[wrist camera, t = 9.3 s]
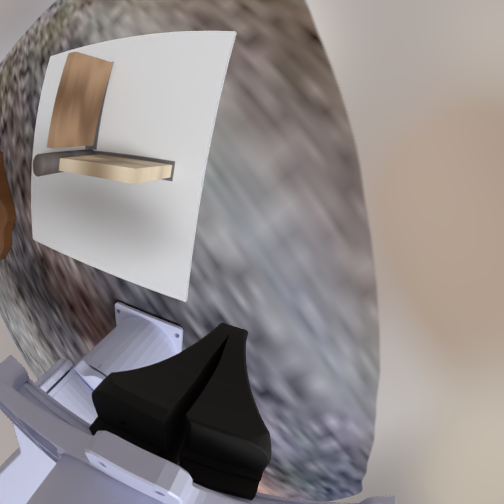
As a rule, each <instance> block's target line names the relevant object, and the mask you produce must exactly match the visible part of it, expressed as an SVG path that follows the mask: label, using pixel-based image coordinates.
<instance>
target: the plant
mask: <svg viewBox="0 0 504 504" xmlns="http://www.w3.org/2000/svg"><path fill="white" fill-rule="evenodd" d="M15 220H16V214H15V209H14V204H13V201H12V198H11V195H10V191H9V186H8V181H7V177H6V174H5V171H4V167H3V153H2V152H0V260H2V259H4V258H5V257H6V256H7V254H8V252H9V250H10V248H11V246H12V230H13V226H14V222H15Z"/></svg>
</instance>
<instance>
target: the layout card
mask: <svg viewBox="0 0 504 504" xmlns="http://www.w3.org/2000/svg"><path fill="white" fill-rule="evenodd" d="M236 34H237V33H236V32H235V31H183V32H168V33H157V34H148V35H140V36H133V37H127V38H121V39H116V40H110V41H106V42H101V43H96V44H92V45H88V46H84V47H80V48H77V49H73V50H70V51H66V52H63V53H60V54H57V55H54V56H51V57H50V60H49V64H48V67H47V71H46V75H45V79H44V83H43V88H42V92H41V97H40V103H39V108H38V114H37V120H36V128H35V136H34V145H33V157H32V175H31V214H32V232H33V240H35V241H37V242H39V243H41V244H44V245H46V246H48V247H50V248H52V249H54V250H56V251H59V252H61V253H63V254H65V255H67V256H70V257H72V258H74V259H76V260H79V261H81V262H83V263H86V264H88V265H90V266H93V267H95V268H97V269H100V270H102V271H105V272H107V273H110V274H112V275H114V276H117V277H119V278H122V279H125V280H127V281H130V282H132V283H135V284H137V285H140V286H143V287H145V288H148V289H151V290H153V291H156V292H159V293H162V294H164V295H167V296H170V297H173V298H176V299H179V300H181V301H184V302H186V301H187V296H188V287H189V278H190V270H191V262H192V254H193V247H194V239H195V232H196V225H197V219H198V212H199V206H200V200H201V194H202V188H203V182H204V176H205V170H206V165H207V160H208V154H209V149H210V144H211V139H212V134H213V129H214V124H215V119H216V115H217V110H218V106H219V101H220V97H221V92H222V88H223V84H224V80H225V76H226V72H227V68H228V64H229V60H230V56H231V52H232V48H233V44H234V41H235V37H236ZM71 52H79V53H83V54H86V55H90V56H93V57H96V58H99V59H103V60H106V61H109V62H112V63H113V66H112V69H111V73H110V76H109V79H108V83H107V86H106V90H105V94H104V98H103V102H102V106H101V110H100V114H99V119H98V124H97V128H96V134H95V139H94V145H93V146H80V147H65V148H48V147H47V142H48V135H49V129H50V123H51V118H52V113H53V108H54V103H55V99H56V95H57V91H58V87H59V83H60V79H61V76H62V72H63V69H64V66H65V62H66V59H67V56H68V53H71ZM85 149H92V150H93V151H94V152H95V155H98V154H101V155H109V156H117V157H124V158H132V159H139V160H145V161H152V162H158V163H164V164H170V165H172V171H171V177H169V178H164V179H159V180H153V181H148V182H143V183H138V184H129V183H124V182H119V181H114V180H109V179H103V178H98V177H92V176H87V175H81V174H75V173H69V172H60V173H55V174H49V175H44V176H39V177H37V176H36V175H35V174H34V172H33V160H34V157H35V156H36V155H37V154H42V153H51V152H60V151H72V150H85Z"/></svg>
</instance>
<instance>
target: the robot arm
mask: <svg viewBox="0 0 504 504" xmlns="http://www.w3.org/2000/svg"><path fill="white" fill-rule="evenodd" d="M119 310H120V311H119ZM115 316H116V327H115V328H114V329H113V330H112V331H111V332H110V333H109V334H108V335H107V336H106V337H105V338H103V339H102V340H101V341H100V342H99V343H98V344H97V345H96V346H95V347H94V348H93V349H92V350H91V351H90V352H89V353H88V354H87V355H86V356H85V357H84V358H83V359H82V360H80V361H79V362H78V363H77V364H75V365H74V366H73V367H71V366H72V365H73V364H72V362H71V361H70V360H64V359H60V360H59V361H58V362H57V363H55V364H54V365H53V366H52V367H51V368H50V369H49V370H48V371H47V372H46V373H45V374H44V375H42V376H41V377H40V378H39V379H38V380H37V381H36V383H34V382H33V381H31V380H30V379H29V376H28V373H27V371H26V369H25V368H24V367H23V366H22V365H21V364H20V363H19V362H18V361H17V360H16V359H15V358H14V357H13V356H11V355H10V356H9V357H8V358H6V359H5V360H4V361H3V362H2V363H0V409H1V410H2V412H3V413H4V414H5V415H6V416H7V417H8V418H9V419H10V420H11V421H12V422H13V427H14V430H15V434H16V438H17V441H18V444H19V448H18V449H17V450H16V451H15V452H14V453H13V454H12V455H11V456H10V457H9V458H8V459H7V460H6V461H5V462H4V463H3V464H2V465H1V466H0V504H396V496H380V497H371V498H367V499H365V500H363V501H362V502H361V503H335V502H319V501H309V500H300V499H292V498H285V497H279V496H273V495H268V494H263V493H258V492H257V488H258V485H259V481H260V480H261V477H262V473H263V471H264V470H265V468H266V467H267V465H268V464H269V462H270V460H271V440H270V433H269V431H268V429H267V428H266V426H265V424H264V422H263V420H262V418H261V416H260V414H259V411H258V409H257V406H256V404H255V401H254V398H253V395H252V392H251V388H250V384H249V380H248V374H247V367H246V339H247V336H248V332H247V330H244V329H241V328H237V327H234V326H231V325H228V324H225V323H221V324H219V325H218V326H217V327H216V328H215V329H214V330H212V331H211V332H210V333H209V334H207V335H206V336H205V337H203V338H202V339H201V340H199V341H198V342H196V343H195V344H193V345H192V346H190V347H188V348H187V349H185V350H184V351H182V340H183V329H182V328H181V327H180V326H178V325H175V324H172V323H170V322H167V321H165V320H162V319H159V318H157V317H154V316H152V315H149V314H147V313H144V312H142V311H139V310H137V309H135V308H132V307H130V306H128V305H125V304H123V303H121V302H117V303H116V304H115ZM177 334H178V335H177ZM178 463H179V466H178Z"/></svg>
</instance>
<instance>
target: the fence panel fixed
mask: <svg viewBox="0 0 504 504" xmlns="http://www.w3.org/2000/svg"><path fill="white" fill-rule="evenodd" d="M171 171H172V165H170V164H164V163H158V162H152V161H145V160H139V159H132V158H124V157H117V156H109V155H101V154H98V155H95V152H94V151H93V150H92V149H85V150H72V151H60V152H51V153H42V154H37V155H36V156H35V157H34V160H33V172H34V174H35V175H36V176H37V177H39V176H44V175H49V174H55V173H60V172H69V173H75V174H81V175H87V176H92V177H98V178H103V179H109V180H114V181H119V182H124V183H129V184H138V183H143V182H148V181H153V180H159V179H164V178H169V177H171Z"/></svg>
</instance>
